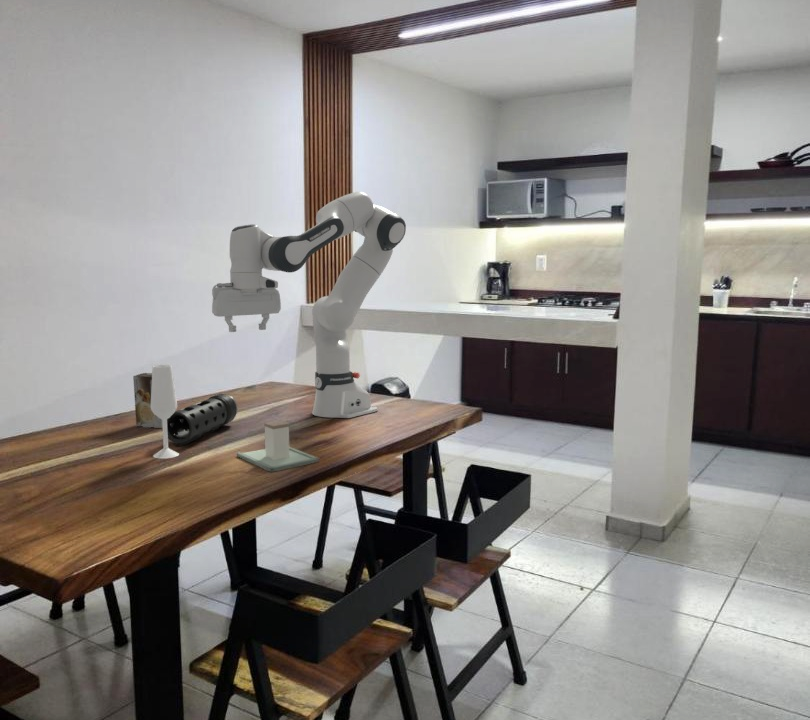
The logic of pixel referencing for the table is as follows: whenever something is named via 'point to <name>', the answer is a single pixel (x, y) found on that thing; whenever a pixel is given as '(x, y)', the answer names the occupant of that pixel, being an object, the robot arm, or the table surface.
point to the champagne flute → (163, 403)
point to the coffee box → (144, 402)
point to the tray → (270, 465)
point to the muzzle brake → (201, 418)
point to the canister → (277, 440)
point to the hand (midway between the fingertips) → (247, 330)
